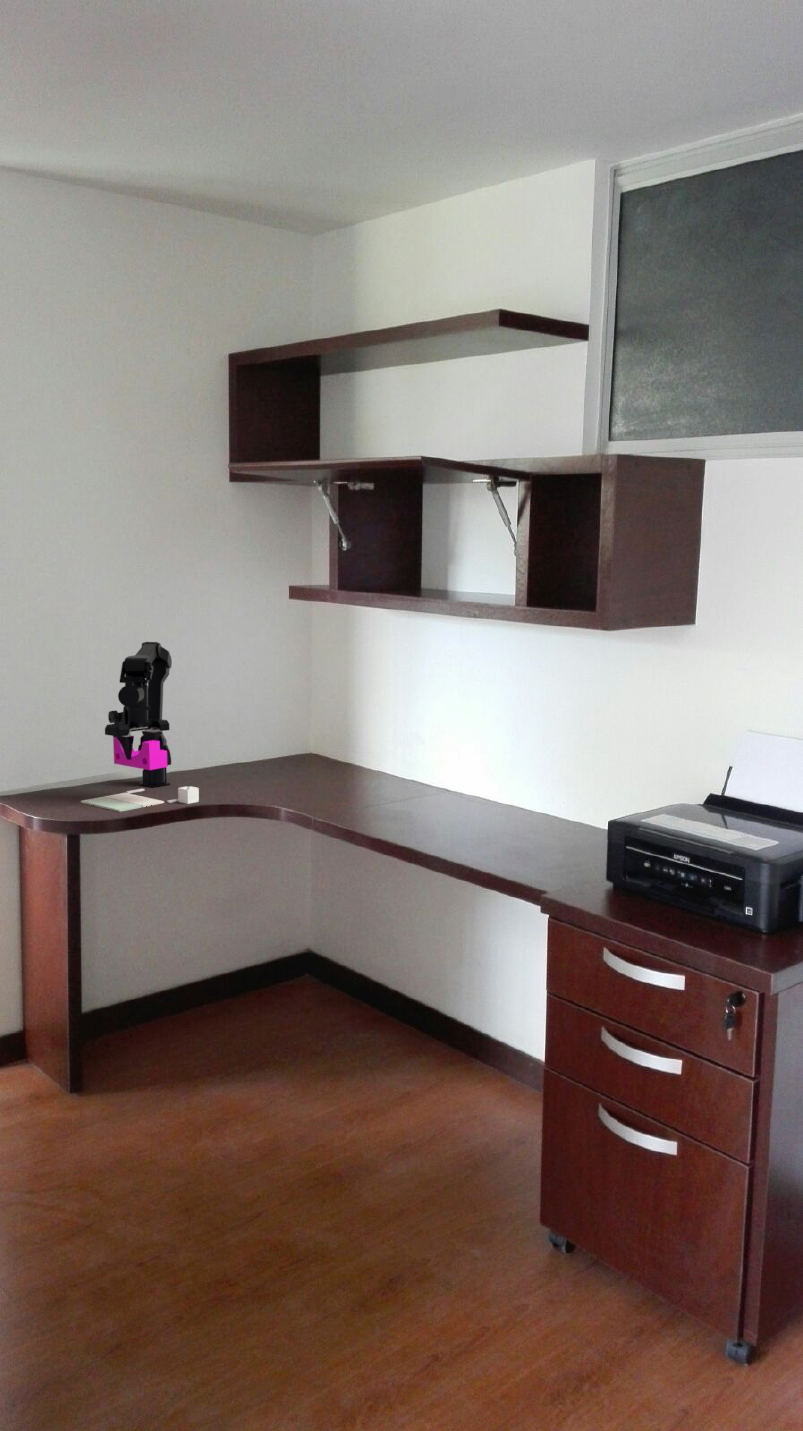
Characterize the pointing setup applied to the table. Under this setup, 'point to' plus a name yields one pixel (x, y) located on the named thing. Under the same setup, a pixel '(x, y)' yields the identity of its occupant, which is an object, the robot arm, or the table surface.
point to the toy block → (141, 755)
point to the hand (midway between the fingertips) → (138, 758)
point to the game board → (124, 801)
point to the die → (188, 794)
